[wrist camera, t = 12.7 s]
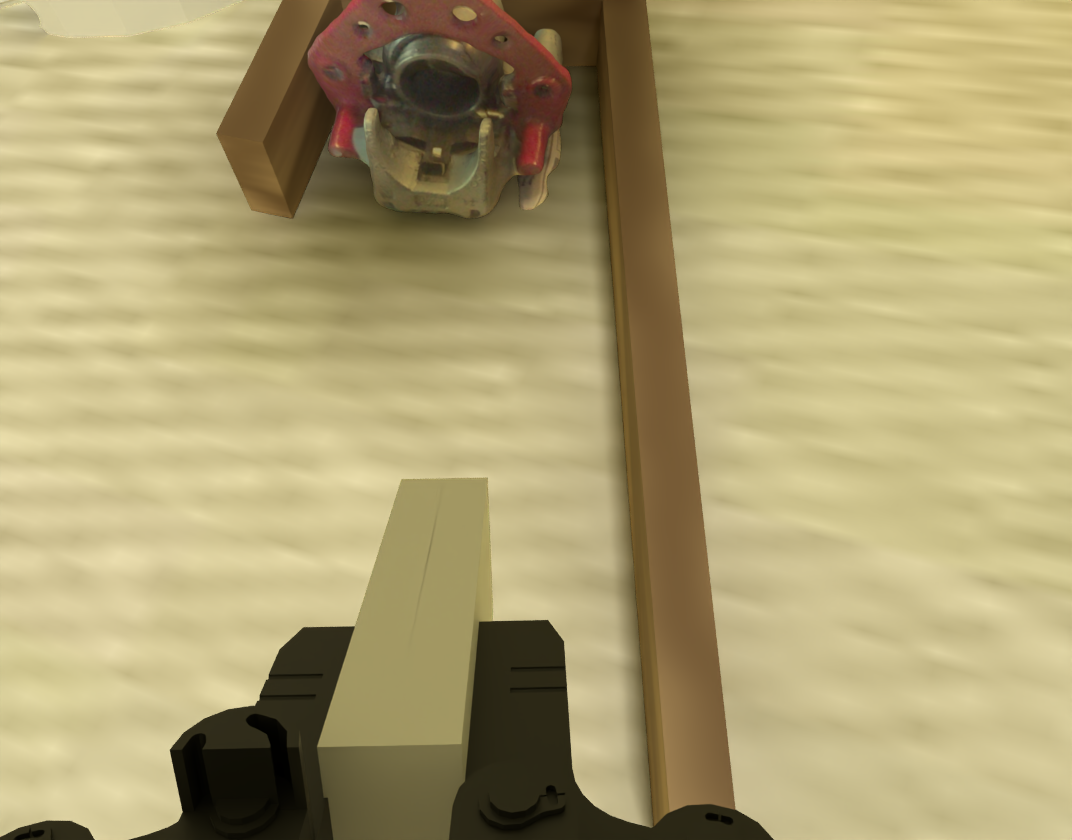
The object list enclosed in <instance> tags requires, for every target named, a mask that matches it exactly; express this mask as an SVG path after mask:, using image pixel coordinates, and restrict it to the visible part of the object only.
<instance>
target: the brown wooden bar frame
mask: <svg viewBox="0 0 1072 840" xmlns="http://www.w3.org/2000/svg"><path fill="white" fill-rule="evenodd" d="M351 1H352V0H282V2H281V4H280V6H279V8H278V10H277V12H276V14H275V16H274V18H273V21H272V23H271V25H270V27H269V29H268V31H267V33H266V35H265V37H264V39H263V41H262V43H261V45H260V47H259V49H258V51H257V53H256V55H255V57H254V59H253V61H252V63H251V65H250V67H249V69H248V71H247V73H246V75H245V77H244V79H243V81H242V83H241V85H240V87H239V89H238V91H237V93H236V95H235V97H234V99H233V101H232V103H231V105H230V107H229V109H228V111H227V113H226V115H225V117H224V119H223V121H222V123H221V125H220V127H219V129H218V131H217V133H216V134H217V136H218V138H219V140H220V142H221V145H222V147H223V149H224V151H225V153H226V156H227V158H228V160H229V162H230V164H231V166H232V169H233V171H234V173H235V175H236V177H237V179H238V182H239V184H240V186H241V188H242V190H243V193H244V195H245V197H246V199H247V201H248V203H249V206H250V208H251V210H254V211H258V212H263V213H268V214H273V215H278V216H283V217H288V218H293V217H294V214H295V212H296V210H297V207H298V205H299V203H300V201H301V198H302V196H303V194H304V191H305V189H306V187H307V184H308V182H309V180H310V177H311V175H312V173H313V170H314V168H315V166H316V163H317V161H318V159H319V156H320V154H321V152H322V149H323V147H324V145H325V142H326V140H327V138H328V135H329V133H330V131H331V128H332V126H333V124H334V121H335V117H336V111H335V109H334V107H333V105H332V104H331V102H330V101H329V99H328V98H327V96H326V94H325V92H324V90H323V89H322V88H321V86H320V85H319V83H318V82H317V80H316V78H315V76H314V74H313V72H312V71H311V69H310V68H309V65H308V60H307V59H308V51H309V49H310V48H311V47H312V45H313V42H314V41H315V39H316V37H317V36H318V35H319V34H320V33H322V32H323V31H324V30H325V29H326V28H327V27H328V26H329V24H330V23H331V22H332V21H333V20H334V19H336V18H337V17H338V16H339V15H340V14H341V13H342V11H343V10H345V8H346V7H347V6H348V4H349V3H350V2H351ZM501 2H502V5H503V8H504V11H505V12H506V13H507V14H508V15H510V16H511V17H512V18H513V19H515V20H516V21H517V22H518V23H519V24H520V25H521V26H522V27H523V28H524V29H525V31H526V32H528V33H529V34H531V35H532V36H534V35H535V33H536V32H537V31H538V30H540V29H552V30H554V31H556V32H557V33H558V34H559V35H560V37H561V41H562V54H563V63H562V66H596V69H597V82H598V95H599V109H600V122H601V135H602V148H603V162H604V175H605V188H606V201H607V215H608V228H609V241H610V255H611V268H612V281H613V294H614V308H615V321H616V334H617V347H618V361H619V374H620V387H621V400H622V414H623V427H624V440H625V453H626V467H627V480H628V493H629V507H630V520H631V533H632V546H633V560H634V573H635V586H636V599H637V613H638V626H639V639H640V652H641V666H642V679H643V692H644V705H645V719H646V732H647V745H648V759H649V772H650V785H651V798H652V812H653V825H654V826H655V825H656V824H657V823H658V822H659V821H660V820H661V819H662V818H663V817H664V816H665V815H666V814H667V813H669V812H672V811H674V810H677V809H679V808H681V807H684V806H686V805H700V804H714V805H718V806H722V807H726V808H730V809H734V810H735V801H734V792H733V783H732V774H731V765H730V756H729V747H728V738H727V729H726V720H725V711H724V702H723V693H722V684H721V675H720V666H719V657H718V648H717V639H716V630H715V621H714V612H713V603H712V594H711V585H710V575H709V566H708V557H707V548H706V539H705V530H704V521H703V512H702V503H701V494H700V485H699V476H698V467H697V458H696V449H695V440H694V431H693V422H692V413H691V404H690V395H689V386H688V377H687V368H686V359H685V350H684V341H683V332H682V323H681V314H680V305H679V296H678V286H677V277H676V268H675V259H674V250H673V241H672V232H671V223H670V214H669V205H668V196H667V187H666V178H665V169H664V160H663V151H662V142H661V133H660V124H659V115H658V106H657V97H656V88H655V79H654V70H653V61H652V52H651V43H650V34H649V25H648V16H647V7H646V0H501ZM382 8H383V9H384V10H385V11H386V12H387V13H389V14H391V15H395V13H396V4H395V2H388V3H384V4H383V5H382ZM359 26H360V25H359ZM507 40H508V39H507V38H506V37H505V39H504V42H506V41H507Z"/></svg>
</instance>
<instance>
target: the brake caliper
mask: <svg viewBox="0 0 1072 840" xmlns="http://www.w3.org/2000/svg"><path fill="white" fill-rule="evenodd" d="M388 2H395V4H396V13H395V15H391V14H389V13H387V12H386V11H385V10H384V9H383V8H382V5H383V4H384V3H388ZM359 25H360V26H359ZM505 37H506V38H507V39H508V40H507V41H506V42H504V39H505ZM307 60H308V65H309V68H310V69H311V71H312V72H313V74H314V76H315V78H316V80H317V82H318V83H319V85H320V86H321V88H322V89H323V90H324V92H325V94H326V96H327V98H328V99H329V101H330V102H331V104H332V105H333V107H334V109H335V111H336V117H335V122H334V125H333V128H332V131H331V136H330V141H329V145H328V151H329V152H330V154H331V155H333V156H335V157H346V158H356V159H359V160H361V161H362V162H364V163H365V164H367V165H368V166H369V167H370V173H371V177H372V182H373V187H374V197H375V200H376V201H377V202H378V203H379V204H380V205H381V206H383V207H385V208H389V209H392V210H394V211H399V212H421V213H450V214H454V215H456V216H459V217H463V218H479V217H483V216H485V215H486V214H488V213H489V212H491V211H492V210H493V208H494V207H495V206H496V204H497V203H498V200H499V197H500V194H501V191H502V189H503V187H504V186H505V184H506V183H507V182H508V181H509V180H510V179H511V178H512V177H513V176H515V175H518V185H519V207H520V209H523V210H526V209H528V210H529V209H534V208H535V207H537V206H538V205H540V204H541V203H542V202H544V201H545V199H546V198H547V197H548V194H549V193H548V189H547V184H546V182H547V177H548V175H549V174H550V173H551V172H552V171H553V170H554V169H555V168H556V167H557V166H558V164H559V161H560V154H561V140H560V133H559V128H560V127H561V125H562V120H563V113H564V111H565V108H566V106H567V104H568V100H569V97H570V95H571V91H572V81H571V77H570V73H569V72H568V70H567V69H566V68H565V67H563V66H562V63H563V54H562V41H561V37H560V35H559V34H558V33H557V32H556V31H554V30H552V29H540V30H538V31H537V32H536V33H535V35H534V36H532V35H531V34H529V33H528V32H526V31H525V29H524V28H523V27H522V26H521V25H520V24H519V23H518V22H517V21H516V20H515V19H513V18H512V17H511V16H510V15H508V14H507V13H506V12H505V11H504V8H503V5H502V2H501V0H352V1H351V2H350V3H349V4H348V6H347V7H346V8H345V10H343V11H342V13H341V14H340V15H339V16H338V17H337V18H336V19H334V20H333V21H332V22H331V23H330V24H329V26H328V27H327V28H326V29H325V30H324V31H323V32H322V33H320V34H319V35H318V36H317V37H316V39H315V41H314V42H313V45H312V47H311V48H310V49H309V51H308V59H307Z"/></svg>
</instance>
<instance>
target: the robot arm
mask: <svg viewBox="0 0 1072 840" xmlns="http://www.w3.org/2000/svg"><path fill="white" fill-rule="evenodd" d="M492 620H493V598H492V573H491V549H490V524H489V499H488V478H448V479H401V482H400V486H399V489H398V492H397V495H396V498H395V502H394V505H393V508H392V511H391V514H390V517H389V521H388V524H387V527H386V530H385V533H384V536H383V540H382V543H381V546H380V549H379V552H378V555H377V559H376V562H375V565H374V568H373V571H372V574H371V578H370V581H369V584H368V587H367V590H366V593H365V597H364V600H363V603H362V606H361V609H360V612H359V616H358V619H357V622H356V625H355V626H352V627H304V628H302V629H301V630H300V631H299V632H298V633H297V634H296V635H295V636H294V637H293V638H292V639H291V640H289V641H288V642H287V643H286V644H285V645H284V646H283V647H282V648H281V649H280V650H279V652H278V654H277V657H276V659H275V661H274V664H273V666H272V668H271V671H270V673H269V679H268V680H266V682H265V684H264V687H263V689H262V691H261V694H260V700H259V701H257V703H256V705H255V706H248V707H241V708H234V709H228V710H225V711H223V712H220V713H218V714H215V715H212V716H210V717H207V718H205V719H203V720H202V721H200V722H199V723H197V724H196V725H194V726H193V727H191V728H190V729H188V730H187V731H186V732H184V733H183V734H182V735H181V737H180V738H179V739H178V740H177V742H176V743H175V744H174V745H173V747H172V748H171V749H170V754H171V758H172V763H173V768H174V773H175V777H176V782H177V787H178V792H179V796H180V801H181V806H182V811H183V813H182V815H181V817H180V819H179V821H178V822H177V823H175V824H173V825H171V826H170V827H168V828H165V829H162V830H159V831H156V832H154V833H151V834H148V835H145V836H141V837H137V838H133V839H130V840H774V839H773V838H772V837H771V836H770V835H769V834H768V833H767V832H766V831H765V830H764V828H763V827H762V826H761V825H760V824H759V823H758V822H756V821H754V820H753V819H751V818H749V817H747V816H746V815H744V814H742V813H740V812H739V811H737V810H734V809H730V808H726V807H722V806H718V805H714V804H700V805H686V806H684V807H681V808H679V809H677V810H674V811H672V812H669V813H667V814H666V815H665V816H664V817H663V818H662V819H661V820H660V821H659V822H658V823H657V824H656V825H655V826H654V827H653V828H650V827H646V826H642V825H638V824H634V823H630V822H627V821H624V820H621V819H618V818H616V817H613V816H610V815H608V814H607V813H605V812H604V811H602V810H600V809H599V808H597V807H595V806H594V805H593V804H592V803H591V802H590V801H589V800H588V799H587V798H586V797H585V796H584V795H583V794H582V792H581V791H580V789H579V787H578V785H577V784H576V782H575V778H574V774H573V770H572V758H571V743H570V728H569V712H568V697H567V682H566V668H565V651H564V641H563V640H562V638H561V637H560V636H559V634H558V633H557V632H556V630H555V629H554V628H553V626H552V625H551V624H550V622H549V621H548V620H533V621H492ZM0 840H94V838H93V836H92V834H91V833H90V831H89V829H88V828H85V827H83V826H81V825H79V824H76V823H74V822H72V821H43V822H40V823H36V824H32V825H28V826H24V827H20V828H18V829H16V830H14V831H12V832H10V833H8V834H6V835H4V836H2V837H0Z"/></svg>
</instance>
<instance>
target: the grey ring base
mask: <svg viewBox="0 0 1072 840" xmlns="http://www.w3.org/2000/svg"><path fill="white" fill-rule="evenodd" d="M241 1H243V0H0V9H2V8H5V7H8V6H12V5H15V4H18V3H22V2H24V3H26V4H27V5H29V6H30V7H31V8H32V9H33V10H34V12H35V13H36V14H37V15H38V17H39V20H40V26H39V27H40V28H42V29H43V30H45V31H46V33H47V34H50V35H56V36H61V37H67V38H85V37H119V36H133V35H137V34H142V33H147V32H151V31H156V30H161V29H165V28H170V27H175V26H179V25H184V24H188V23H191V22H194V21H196V20H198V19H201V18H203V17H205V16H208V15H210V14H213V13H215V12H217V11H220V10H222V9H225V8H227V7H229V6H232V5H234V4H237V3H239V2H241Z"/></svg>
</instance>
